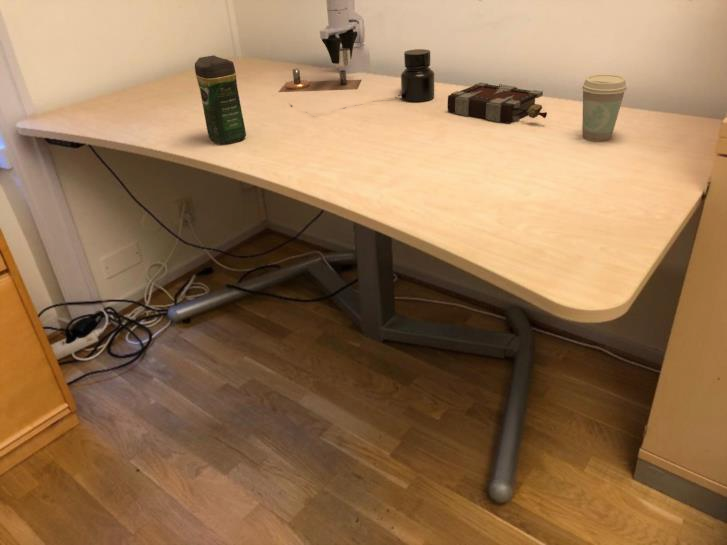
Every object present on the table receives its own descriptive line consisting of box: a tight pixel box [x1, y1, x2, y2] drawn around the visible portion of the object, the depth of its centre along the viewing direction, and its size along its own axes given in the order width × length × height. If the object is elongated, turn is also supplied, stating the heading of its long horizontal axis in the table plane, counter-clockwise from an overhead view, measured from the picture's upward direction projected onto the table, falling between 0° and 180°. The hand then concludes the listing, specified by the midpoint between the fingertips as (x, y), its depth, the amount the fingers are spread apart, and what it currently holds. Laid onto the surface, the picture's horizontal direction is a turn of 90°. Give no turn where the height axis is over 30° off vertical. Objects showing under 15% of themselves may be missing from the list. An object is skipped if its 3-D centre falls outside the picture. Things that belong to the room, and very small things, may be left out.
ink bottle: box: [400, 48, 435, 103], centre depth 155 cm, size 10×9×12 cm
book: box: [447, 81, 548, 124], centre depth 141 cm, size 15×25×5 cm, turn 46°
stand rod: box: [339, 70, 347, 86], centre depth 169 cm, size 2×2×4 cm
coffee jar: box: [194, 54, 247, 144], centre depth 134 cm, size 10×8×19 cm
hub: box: [285, 68, 310, 90], centre depth 170 cm, size 7×7×5 cm
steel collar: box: [332, 48, 351, 67], centre depth 166 cm, size 5×5×4 cm
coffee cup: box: [581, 74, 628, 142], centre depth 121 cm, size 9×8×12 cm
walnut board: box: [277, 79, 362, 93], centre depth 171 cm, size 23×11×2 cm, turn 84°
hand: (341, 61), depth 166 cm, fingers closed on steel collar, 5 cm apart
